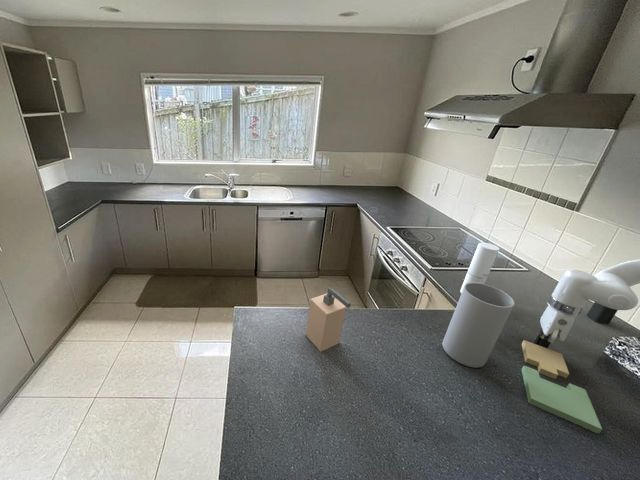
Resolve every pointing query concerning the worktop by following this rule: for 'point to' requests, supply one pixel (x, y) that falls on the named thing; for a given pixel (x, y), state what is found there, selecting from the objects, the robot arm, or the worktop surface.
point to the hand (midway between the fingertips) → (540, 346)
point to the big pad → (560, 400)
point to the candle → (601, 313)
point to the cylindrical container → (481, 264)
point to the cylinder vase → (476, 324)
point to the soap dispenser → (326, 319)
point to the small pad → (545, 360)
